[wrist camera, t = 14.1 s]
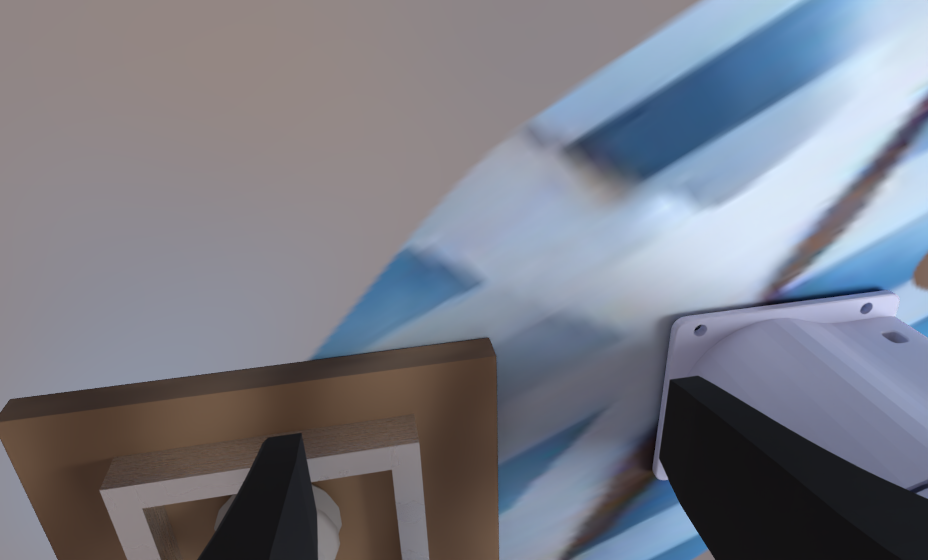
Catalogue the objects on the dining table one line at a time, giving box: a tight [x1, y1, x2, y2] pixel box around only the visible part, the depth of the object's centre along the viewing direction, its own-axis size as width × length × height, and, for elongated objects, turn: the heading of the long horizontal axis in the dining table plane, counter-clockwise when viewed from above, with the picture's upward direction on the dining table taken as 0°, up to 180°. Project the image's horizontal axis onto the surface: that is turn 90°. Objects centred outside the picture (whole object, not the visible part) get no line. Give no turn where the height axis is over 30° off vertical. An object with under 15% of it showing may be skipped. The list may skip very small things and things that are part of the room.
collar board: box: [0, 338, 499, 560], centre depth 24 cm, size 16×14×3 cm
